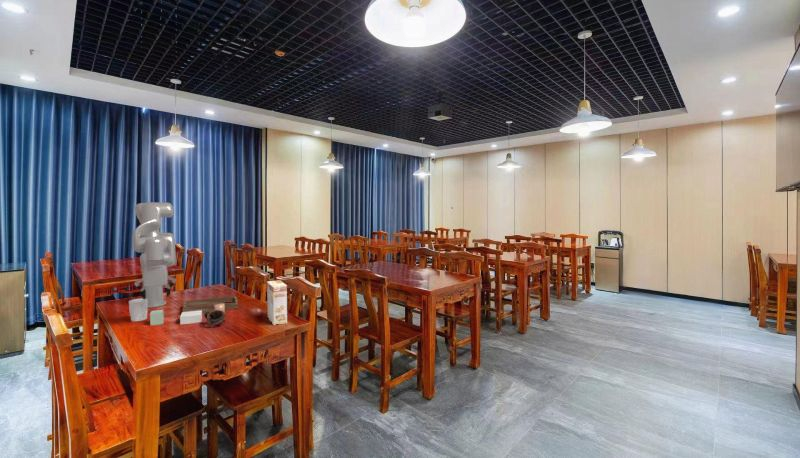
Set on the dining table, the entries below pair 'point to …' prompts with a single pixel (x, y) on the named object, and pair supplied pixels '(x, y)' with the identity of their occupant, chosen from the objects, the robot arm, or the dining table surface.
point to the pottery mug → (214, 317)
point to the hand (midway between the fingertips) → (156, 297)
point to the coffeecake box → (277, 302)
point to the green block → (156, 317)
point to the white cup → (138, 309)
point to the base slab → (191, 317)
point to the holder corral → (207, 302)
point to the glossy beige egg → (220, 307)
